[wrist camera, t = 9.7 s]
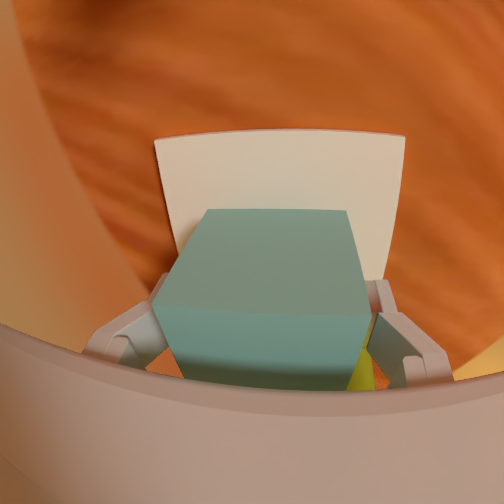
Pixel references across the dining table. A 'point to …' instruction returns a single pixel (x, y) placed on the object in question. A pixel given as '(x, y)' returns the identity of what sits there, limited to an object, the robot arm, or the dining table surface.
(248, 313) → the block
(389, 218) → the coaster
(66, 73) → the dining table surface
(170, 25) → the dining table surface
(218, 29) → the dining table surface
